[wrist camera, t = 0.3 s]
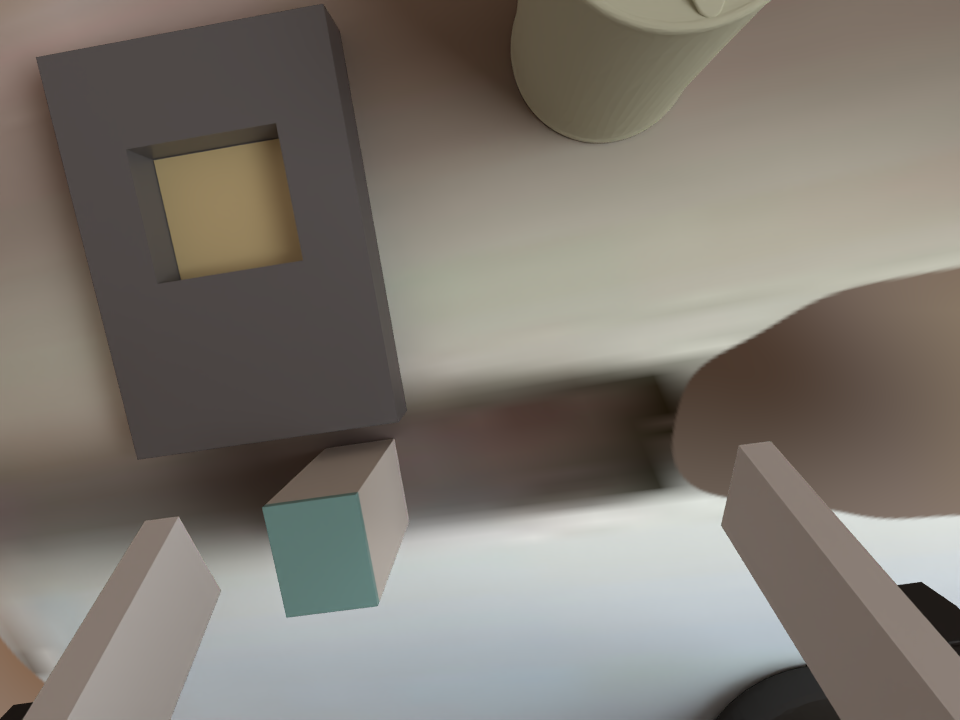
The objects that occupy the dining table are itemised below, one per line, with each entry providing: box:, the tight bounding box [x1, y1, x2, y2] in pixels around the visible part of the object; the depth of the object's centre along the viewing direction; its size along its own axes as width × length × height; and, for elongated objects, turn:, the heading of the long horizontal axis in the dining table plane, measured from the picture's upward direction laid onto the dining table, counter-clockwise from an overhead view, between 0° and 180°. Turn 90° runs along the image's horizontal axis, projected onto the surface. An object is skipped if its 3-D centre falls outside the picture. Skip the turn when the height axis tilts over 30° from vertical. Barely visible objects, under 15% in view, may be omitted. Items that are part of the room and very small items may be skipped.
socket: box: [36, 4, 407, 460], centre depth 26 cm, size 20×14×2 cm
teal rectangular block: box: [262, 439, 409, 618], centre depth 25 cm, size 5×4×8 cm
